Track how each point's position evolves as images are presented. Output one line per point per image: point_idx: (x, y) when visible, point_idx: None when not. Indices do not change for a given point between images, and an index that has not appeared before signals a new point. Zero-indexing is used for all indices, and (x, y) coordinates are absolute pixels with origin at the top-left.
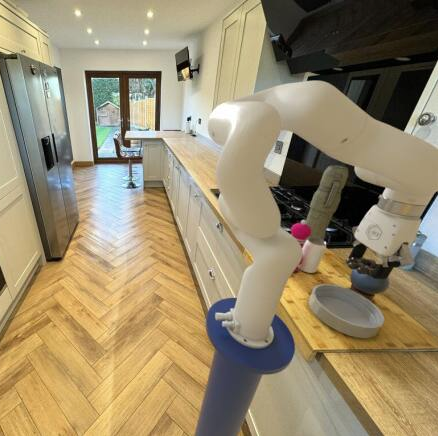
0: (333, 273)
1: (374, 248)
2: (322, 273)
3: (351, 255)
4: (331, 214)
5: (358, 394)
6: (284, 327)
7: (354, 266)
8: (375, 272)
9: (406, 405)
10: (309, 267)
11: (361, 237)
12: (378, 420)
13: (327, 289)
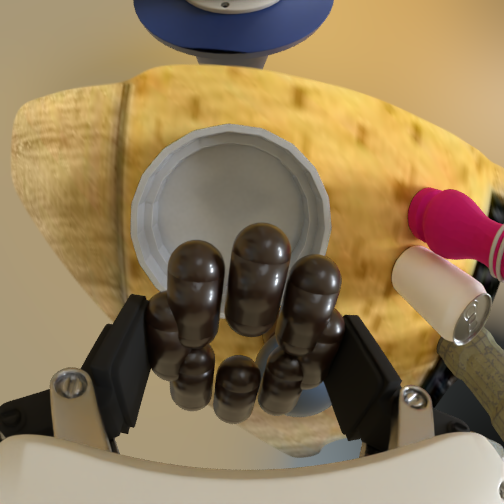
0: (372, 328)
1: (147, 501)
2: (382, 300)
3: (357, 332)
4: (492, 411)
5: (50, 98)
6: (222, 45)
7: (237, 247)
8: (125, 317)
9: (32, 173)
10: (408, 265)
11: (437, 493)
12: (24, 105)
13: (315, 239)
